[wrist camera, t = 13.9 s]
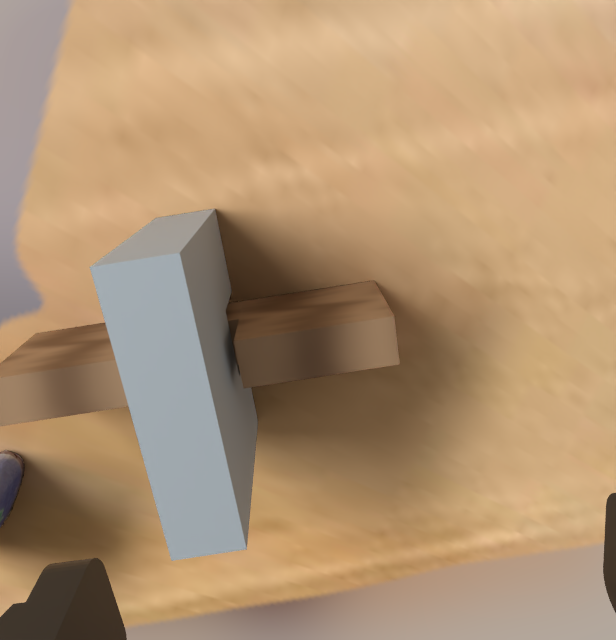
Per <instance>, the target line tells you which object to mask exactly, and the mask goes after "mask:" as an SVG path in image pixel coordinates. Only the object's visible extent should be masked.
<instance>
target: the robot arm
mask: <svg viewBox="0 0 616 640" xmlns="http://www.w3.org/2000/svg"><path fill="white" fill-rule="evenodd" d="M603 573H604V581H605V586H606V590H607V593H608V596H609V599H610V601H611V604H612V606H613V608H614V610H615V612H616V493H612V494H610V495H609V497H608V499H607V504H606V522H605V543H604V564H603ZM0 640H126V632H125V627H124V624H123V621H122V618H121V615H120V612H119V609H118V606H117V603H116V600H115V597H114V594H113V591H112V588H111V585H110V582H109V579H108V576H107V573H106V570H105V567H104V565H103V563H102V562H101V560H99V559H98V558H93V559H86V560H78V561H70V562H62V563H55V564H50V565H48V566H47V567H46V568H45V569H44V570H43V571H42V573H41V575H40V577H39V579H38V580H37V582H36V584H35V586H34V588H33V590H32V592H31V594H30V596H29V597H28V599H27V601H26V602H25V603H17V604H13V605H12V606H11V607H10V608H9V609H8V610H7V611H6V612H5V613H4V614H3V615H2V616H1V617H0Z"/></svg>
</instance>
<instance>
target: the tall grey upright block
mask: <svg viewBox="0 0 616 640" xmlns="http://www.w3.org/2000/svg"><path fill="white" fill-rule="evenodd" d="M90 270H91V273H92V277H93V280H94V284H95V287H96V291H97V295H98V298H99V302H100V305H101V309H102V313H103V316H104V320H105V323H106V327H107V331H108V334H109V338H110V341H111V345H112V349H113V352H114V356H115V359H116V363H117V366H118V370H119V374H120V377H121V381H122V384H123V388H124V392H125V395H126V399H127V402H128V406H129V410H130V413H131V417H132V420H133V424H134V428H135V431H136V435H137V438H138V442H139V445H140V449H141V453H142V456H143V460H144V463H145V467H146V471H147V474H148V478H149V481H150V485H151V489H152V492H153V496H154V499H155V503H156V506H157V510H158V514H159V517H160V521H161V524H162V528H163V532H164V535H165V539H166V542H167V546H168V550H169V553H170V557H171V560H172V561H173V560H179V559H186V558H193V557H199V556H206V555H212V554H219V553H226V552H232V551H239V550H245V549H247V540H248V529H249V518H250V506H251V495H252V484H253V473H254V461H255V450H256V439H257V428H258V419H257V414H256V409H255V404H254V399H253V394H252V389H251V388H244V389H243V384H242V379H241V374H240V370H239V365H238V364H237V363H236V358H235V353H234V349H233V344H232V339H231V334H230V329H229V324H228V320H227V315H226V308H227V305H228V302H229V298H230V295H231V292H232V290H231V285H230V280H229V275H228V270H227V265H226V260H225V255H224V250H223V245H222V240H221V235H220V230H219V225H218V220H217V215H216V210H215V209H210V210H203V211H197V212H191V213H184V214H178V215H172V216H166V217H159V218H155V219H154V220H152V221H151V222H150V223H148V224H147V225H146V226H144V227H143V228H142V229H140V230H139V231H138V232H136V233H135V234H134V235H132V236H131V237H130V238H128V239H127V240H126V241H124V242H123V243H122V244H120V245H119V246H117V247H116V248H115V249H113V250H112V251H111V252H109V253H108V254H107V255H105V256H104V257H103V258H101V259H100V260H99V261H97V262H96V263H95V264H93V265H92V266H91V267H90Z"/></svg>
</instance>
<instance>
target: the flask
mask: <svg viewBox="0 0 616 640" xmlns="http://www.w3.org/2000/svg"><path fill="white" fill-rule="evenodd" d="M14 454H15V455H17V458H18V459H17V458H16V456H15V455H14ZM14 454H13V452H9V451H6V450H4V451H2V452H0V527H1V526H2V525H3V524H4V521H5V520H6V519H7V517H8V516H9V513H10V511H11V510H12V508H13V504H14V501H15V500H16V497H17V494H18V491H19V487H20V485H21V483H22V478H23V476H24V463H23V459H22V458H21V457H20V455H18V454H17V453H14Z"/></svg>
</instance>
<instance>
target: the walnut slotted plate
mask: <svg viewBox="0 0 616 640" xmlns="http://www.w3.org/2000/svg"><path fill="white" fill-rule="evenodd" d="M226 315H227V320H228V324H229V329H230V334H231V339H232V344H233V349H234V353H235V358H236V363H237V364H238V365H239V370H240V374H241V379H242V384H243V389H244V388H251V387H257V386H264V385H270V384H276V383H283V382H289V381H296V380H302V379H309V378H315V377H322V376H328V375H334V374H341V373H347V372H354V371H360V370H367V369H373V368H380V367H386V366H392V365H399V364H400V362H399V353H398V344H397V335H396V326H395V317H394V315H393V313H392V311H391V309H390V307H389V306H388V304H387V302H386V300H385V299H384V297H383V295H382V293H381V291H380V290H379V288H378V286H377V284H376V283H375V281H367V282H361V283H355V284H348V285H342V286H335V287H329V288H323V289H316V290H310V291H304V292H297V293H291V294H285V295H278V296H272V297H265V298H259V299H253V300H246V301H240V302H234V303H228V305H227V308H226ZM122 407H128V402H127V399H126V395H125V392H124V388H123V384H122V381H121V377H120V374H119V370H118V366H117V363H116V359H115V356H114V352H113V349H112V345H111V341H110V338H109V334H108V331H107V327H106V323H100V324H94V325H87V326H81V327H75V328H68V329H62V330H56V331H49V332H43V333H37V334H35V335H33V336H32V337H31V338H30V339H29V340H27V341H26V342H25V343H24V344H23V345H22V346H20V347H19V348H18V349H17V350H16V351H15V352H13V353H12V354H11V355H10V356H9V357H7V358H6V359H5V360H4V361H3V362H2V363H0V426H6V425H12V424H19V423H25V422H32V421H38V420H45V419H51V418H57V417H64V416H70V415H77V414H83V413H90V412H96V411H103V410H109V409H115V408H122Z"/></svg>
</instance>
